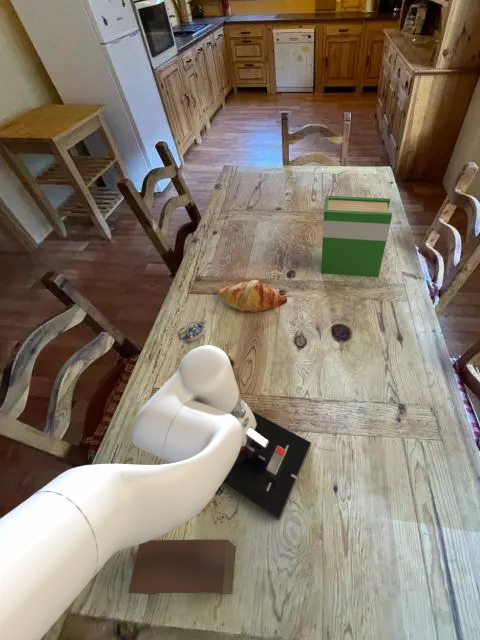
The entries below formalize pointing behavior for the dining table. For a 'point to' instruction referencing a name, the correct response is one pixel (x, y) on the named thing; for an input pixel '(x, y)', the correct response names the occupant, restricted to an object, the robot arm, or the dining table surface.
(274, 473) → the hob knob
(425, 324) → the dining table surface
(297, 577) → the dining table surface
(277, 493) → the hob
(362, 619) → the dining table surface
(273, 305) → the croissant
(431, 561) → the dining table surface
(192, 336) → the blueberries
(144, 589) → the shelf
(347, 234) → the hardback book
